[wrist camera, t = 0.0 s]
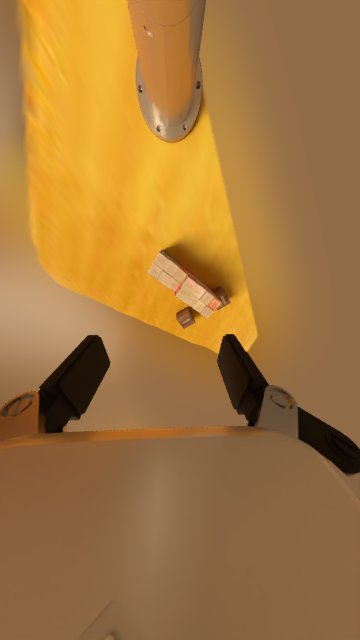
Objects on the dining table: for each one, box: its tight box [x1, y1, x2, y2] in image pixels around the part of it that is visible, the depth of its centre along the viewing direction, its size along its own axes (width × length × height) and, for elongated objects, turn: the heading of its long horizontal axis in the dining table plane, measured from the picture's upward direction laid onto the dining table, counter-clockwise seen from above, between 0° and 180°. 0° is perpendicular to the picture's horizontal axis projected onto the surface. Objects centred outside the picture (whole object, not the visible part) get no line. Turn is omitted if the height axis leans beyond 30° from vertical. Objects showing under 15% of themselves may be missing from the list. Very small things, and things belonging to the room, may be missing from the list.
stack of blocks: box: [147, 250, 222, 318], centre depth 39 cm, size 21×6×12 cm, turn 53°
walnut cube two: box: [213, 287, 231, 310], centre depth 45 cm, size 5×5×5 cm
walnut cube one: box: [176, 307, 195, 329], centre depth 49 cm, size 5×5×5 cm
